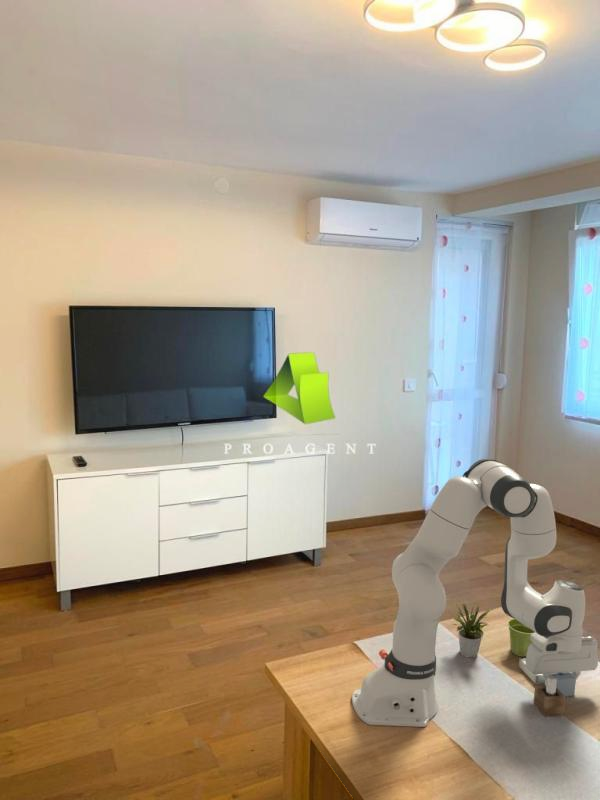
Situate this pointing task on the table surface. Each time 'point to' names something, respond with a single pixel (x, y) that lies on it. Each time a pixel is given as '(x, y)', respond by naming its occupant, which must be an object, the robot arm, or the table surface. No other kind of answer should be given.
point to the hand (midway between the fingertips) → (559, 685)
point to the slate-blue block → (565, 683)
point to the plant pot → (519, 637)
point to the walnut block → (549, 702)
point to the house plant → (470, 631)
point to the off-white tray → (534, 678)
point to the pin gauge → (551, 686)
